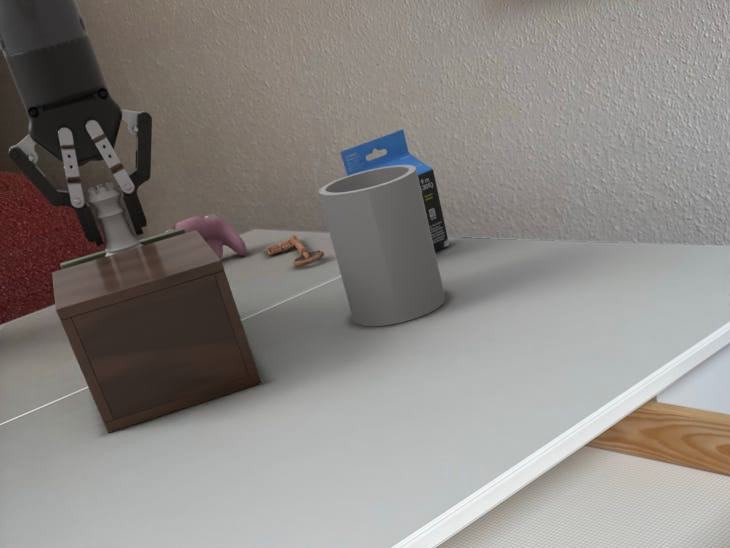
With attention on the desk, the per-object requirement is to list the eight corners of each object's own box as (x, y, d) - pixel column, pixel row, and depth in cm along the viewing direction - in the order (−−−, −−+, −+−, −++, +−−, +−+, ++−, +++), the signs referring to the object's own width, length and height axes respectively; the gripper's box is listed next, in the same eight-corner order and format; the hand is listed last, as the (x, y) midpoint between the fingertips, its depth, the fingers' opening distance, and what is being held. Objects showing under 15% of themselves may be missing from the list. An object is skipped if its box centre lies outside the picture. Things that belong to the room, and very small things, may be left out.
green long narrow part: (93, 338, 117) (58, 254, 113) (206, 303, 120) (177, 219, 115) (103, 388, 102) (64, 293, 97) (234, 346, 104) (202, 252, 99)
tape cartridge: (390, 273, 118) (360, 151, 111) (368, 270, 121) (338, 152, 114) (451, 245, 122) (425, 127, 115) (429, 244, 125) (402, 128, 118)
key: (267, 252, 140) (280, 276, 127) (264, 245, 139) (277, 268, 127) (309, 236, 140) (327, 258, 128) (306, 229, 140) (324, 250, 127)
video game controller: (242, 264, 143) (215, 213, 142) (252, 250, 139) (224, 198, 138) (176, 290, 138) (147, 238, 137) (184, 276, 134) (155, 223, 133)
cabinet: (98, 383, 107) (51, 272, 101) (234, 340, 109) (196, 229, 103) (107, 433, 94) (55, 309, 88) (261, 383, 96) (220, 259, 90)
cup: (444, 313, 102) (413, 178, 95) (349, 333, 103) (312, 201, 96) (445, 285, 109) (417, 158, 103) (357, 304, 110) (324, 180, 104)
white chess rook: (100, 279, 108) (67, 194, 103) (134, 263, 110) (103, 180, 106) (129, 278, 105) (96, 192, 101) (163, 262, 108) (133, 177, 104)
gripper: (120, 21, 101) (185, 213, 110) (-34, 60, 99) (47, 253, 108) (126, 21, 95) (195, 225, 104) (-37, 63, 92) (48, 267, 102)
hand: (119, 238), depth 106 cm, fingers closed on white chess rook, 3 cm apart
